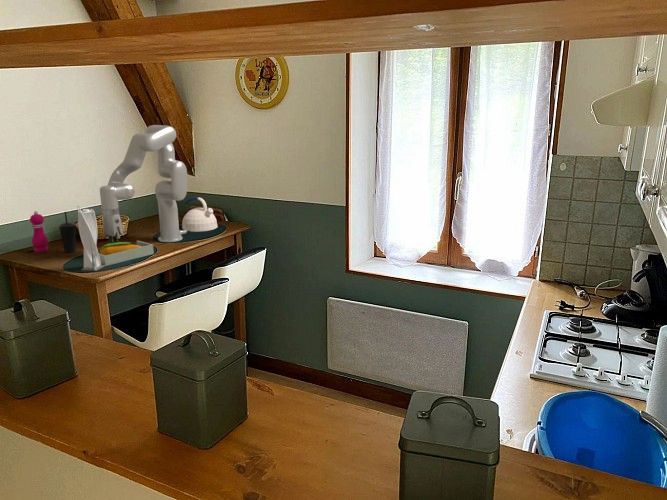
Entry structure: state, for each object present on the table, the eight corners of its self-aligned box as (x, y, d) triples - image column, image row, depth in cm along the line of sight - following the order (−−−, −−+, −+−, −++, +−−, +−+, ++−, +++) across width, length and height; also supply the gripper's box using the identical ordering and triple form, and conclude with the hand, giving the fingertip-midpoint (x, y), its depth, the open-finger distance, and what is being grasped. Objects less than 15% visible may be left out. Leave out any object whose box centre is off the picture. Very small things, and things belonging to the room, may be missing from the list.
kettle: (200, 233, 312) (198, 201, 307) (174, 229, 322) (172, 198, 317) (225, 226, 328) (223, 196, 323) (199, 222, 339) (197, 193, 334)
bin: (138, 249, 279) (137, 240, 278) (153, 253, 272) (153, 244, 271) (90, 260, 260) (89, 251, 259) (105, 265, 253) (104, 256, 251)
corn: (98, 241, 265) (143, 237, 271) (100, 256, 267) (144, 252, 273) (98, 246, 258) (143, 242, 264) (99, 261, 260) (144, 257, 267)
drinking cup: (76, 253, 272) (71, 213, 267) (59, 254, 271) (54, 213, 265) (80, 249, 279) (75, 210, 274) (64, 249, 278) (59, 210, 273)
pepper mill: (41, 253, 272) (35, 213, 267) (29, 251, 275) (23, 212, 269) (52, 249, 279) (47, 210, 273) (41, 248, 281) (36, 209, 276)
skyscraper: (78, 269, 247) (70, 207, 239) (89, 264, 255) (81, 204, 247) (95, 270, 246) (88, 208, 238) (106, 265, 253) (99, 204, 246)
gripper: (126, 212, 263) (130, 250, 268) (109, 208, 272) (113, 245, 277) (111, 215, 258) (115, 253, 262) (94, 211, 266) (98, 248, 271)
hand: (114, 249), depth 270 cm, fingers closed
